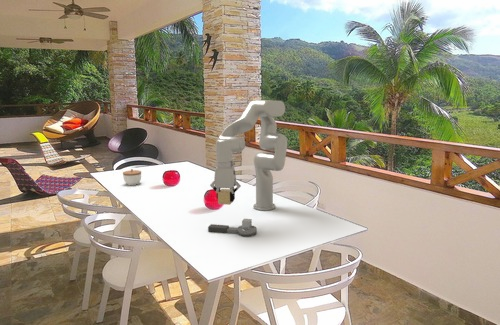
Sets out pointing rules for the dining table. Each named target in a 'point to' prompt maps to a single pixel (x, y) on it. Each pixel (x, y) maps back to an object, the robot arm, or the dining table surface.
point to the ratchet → (236, 229)
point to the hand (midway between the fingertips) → (225, 200)
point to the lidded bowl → (132, 177)
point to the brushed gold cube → (224, 196)
